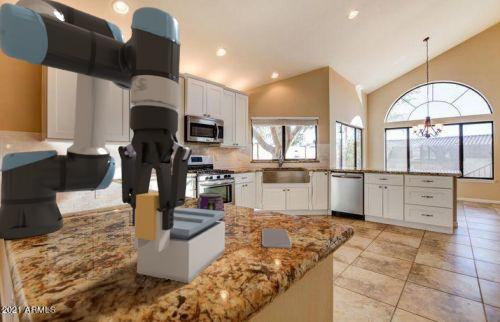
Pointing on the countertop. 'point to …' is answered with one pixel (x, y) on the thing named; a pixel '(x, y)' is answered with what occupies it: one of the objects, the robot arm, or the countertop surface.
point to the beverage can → (210, 202)
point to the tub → (183, 255)
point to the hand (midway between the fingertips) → (152, 246)
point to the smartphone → (275, 238)
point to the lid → (184, 219)
